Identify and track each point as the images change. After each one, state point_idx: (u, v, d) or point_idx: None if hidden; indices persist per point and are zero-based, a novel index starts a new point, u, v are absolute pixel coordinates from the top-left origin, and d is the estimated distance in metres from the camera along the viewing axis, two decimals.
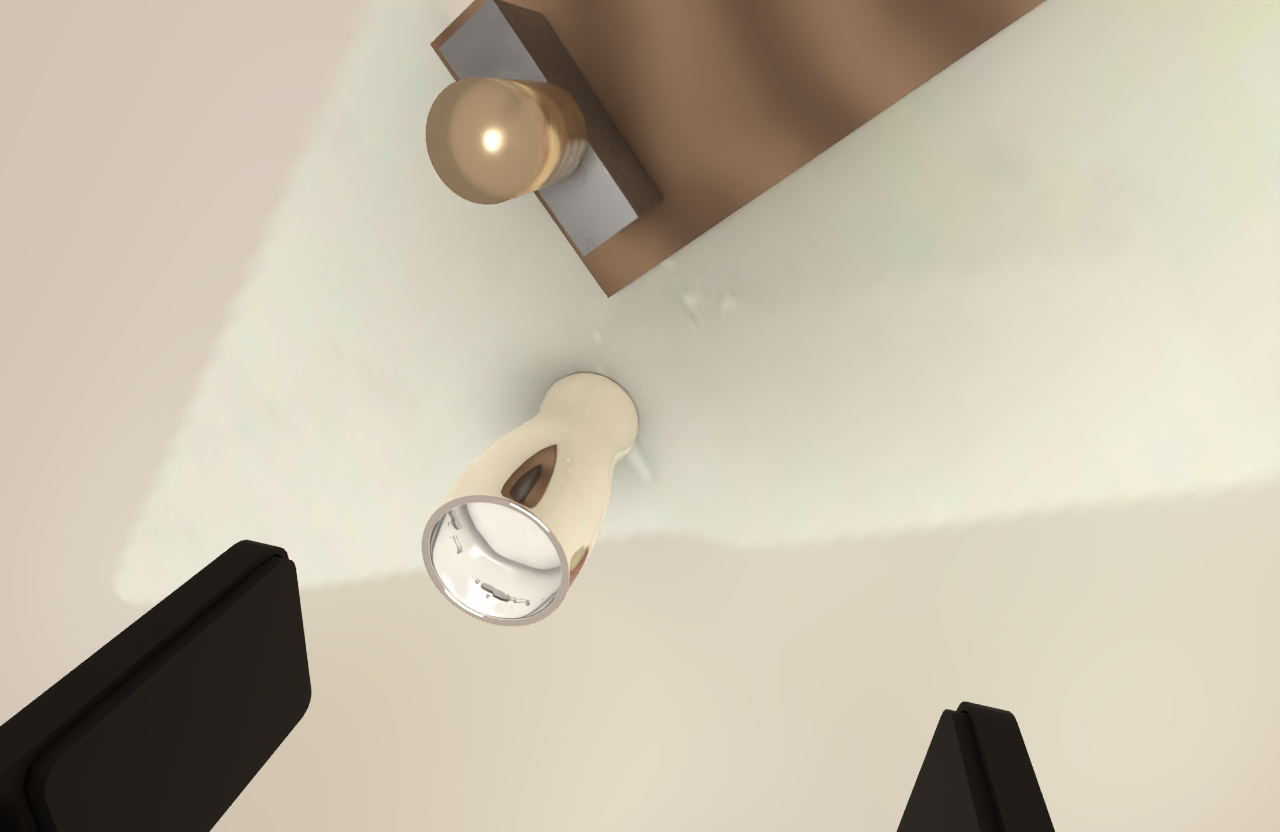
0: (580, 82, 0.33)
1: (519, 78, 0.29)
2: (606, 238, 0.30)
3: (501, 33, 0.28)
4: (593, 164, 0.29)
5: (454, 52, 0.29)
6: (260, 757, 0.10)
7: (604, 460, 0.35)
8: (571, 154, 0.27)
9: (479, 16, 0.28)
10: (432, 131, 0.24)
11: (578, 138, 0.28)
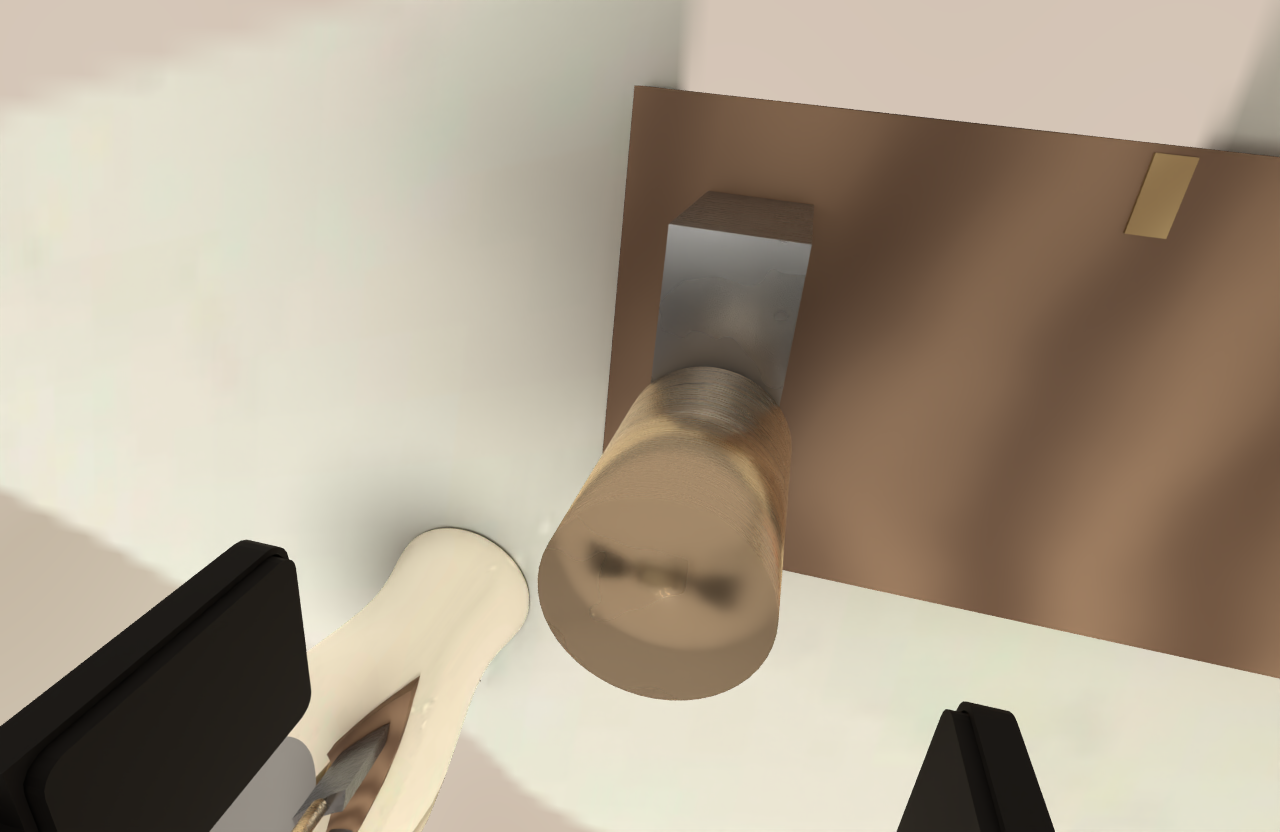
0: None
1: (745, 366, 0.16)
2: None
3: (778, 297, 0.15)
4: None
5: (688, 252, 0.15)
6: (260, 757, 0.10)
7: (452, 754, 0.24)
8: None
9: (770, 248, 0.15)
10: (588, 525, 0.11)
11: None
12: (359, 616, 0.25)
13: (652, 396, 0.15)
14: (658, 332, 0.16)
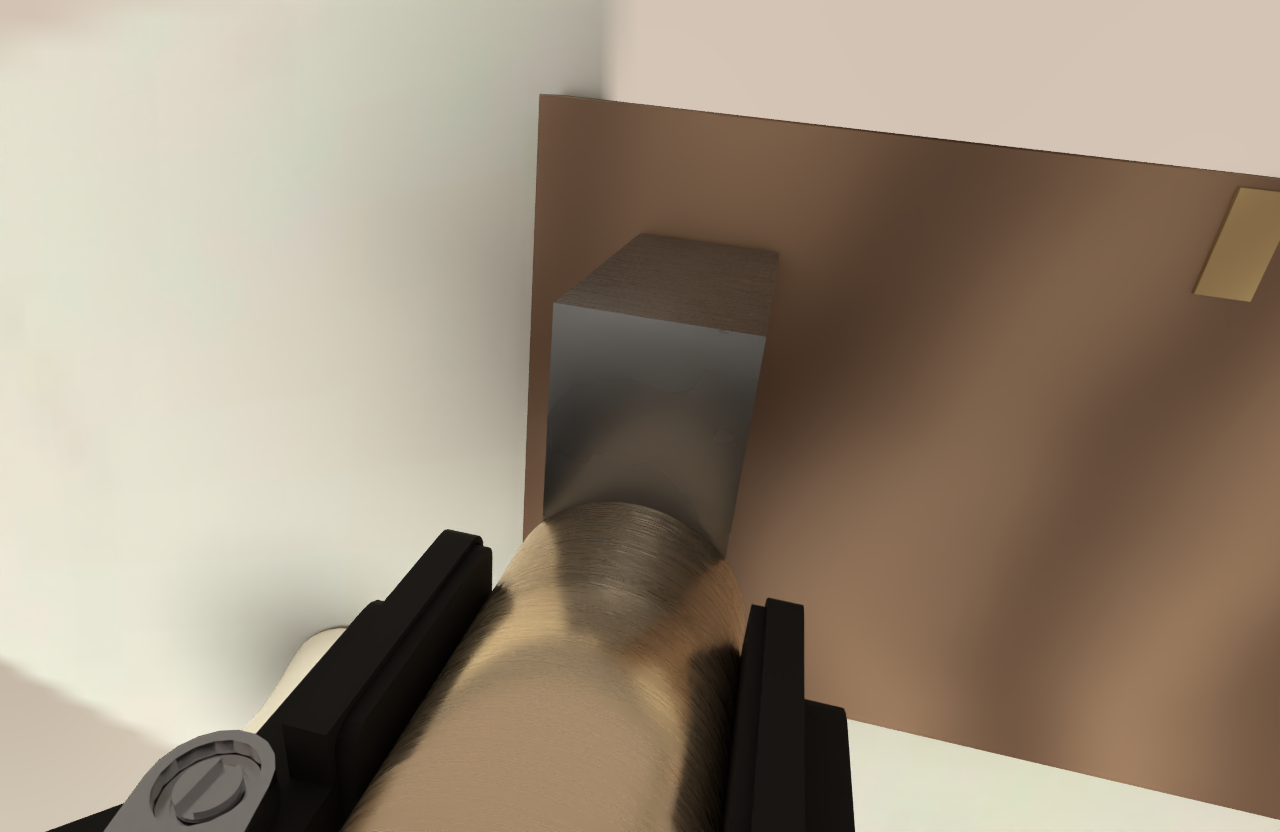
0: None
1: (675, 504, 0.11)
2: None
3: (718, 411, 0.10)
4: None
5: (584, 343, 0.10)
6: None
7: None
8: None
9: (704, 341, 0.10)
10: None
11: None
12: None
13: (532, 558, 0.10)
14: (548, 453, 0.11)
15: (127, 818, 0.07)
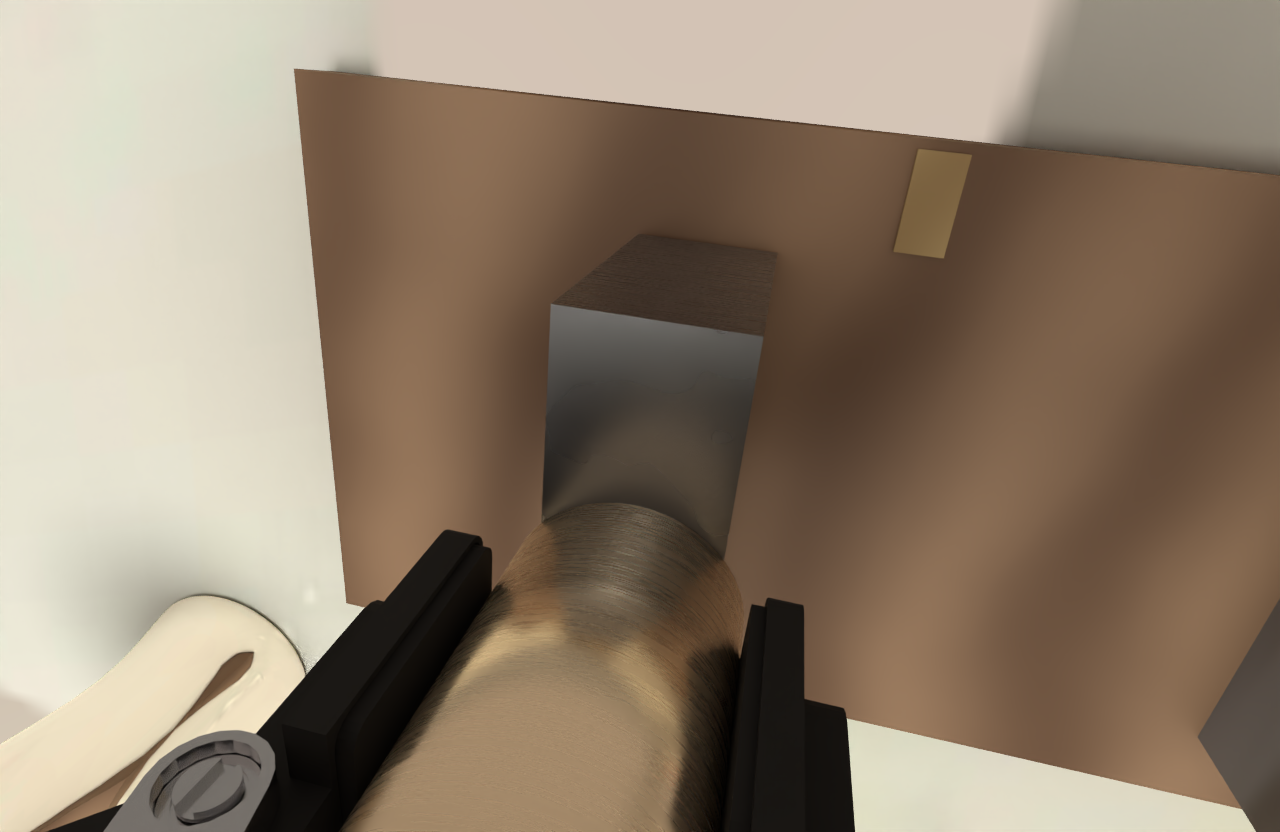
0: None
1: (674, 504, 0.11)
2: None
3: (716, 411, 0.10)
4: None
5: (581, 344, 0.10)
6: None
7: None
8: None
9: (701, 341, 0.10)
10: None
11: None
12: (47, 716, 0.21)
13: (531, 559, 0.10)
14: (547, 454, 0.11)
15: (127, 818, 0.07)
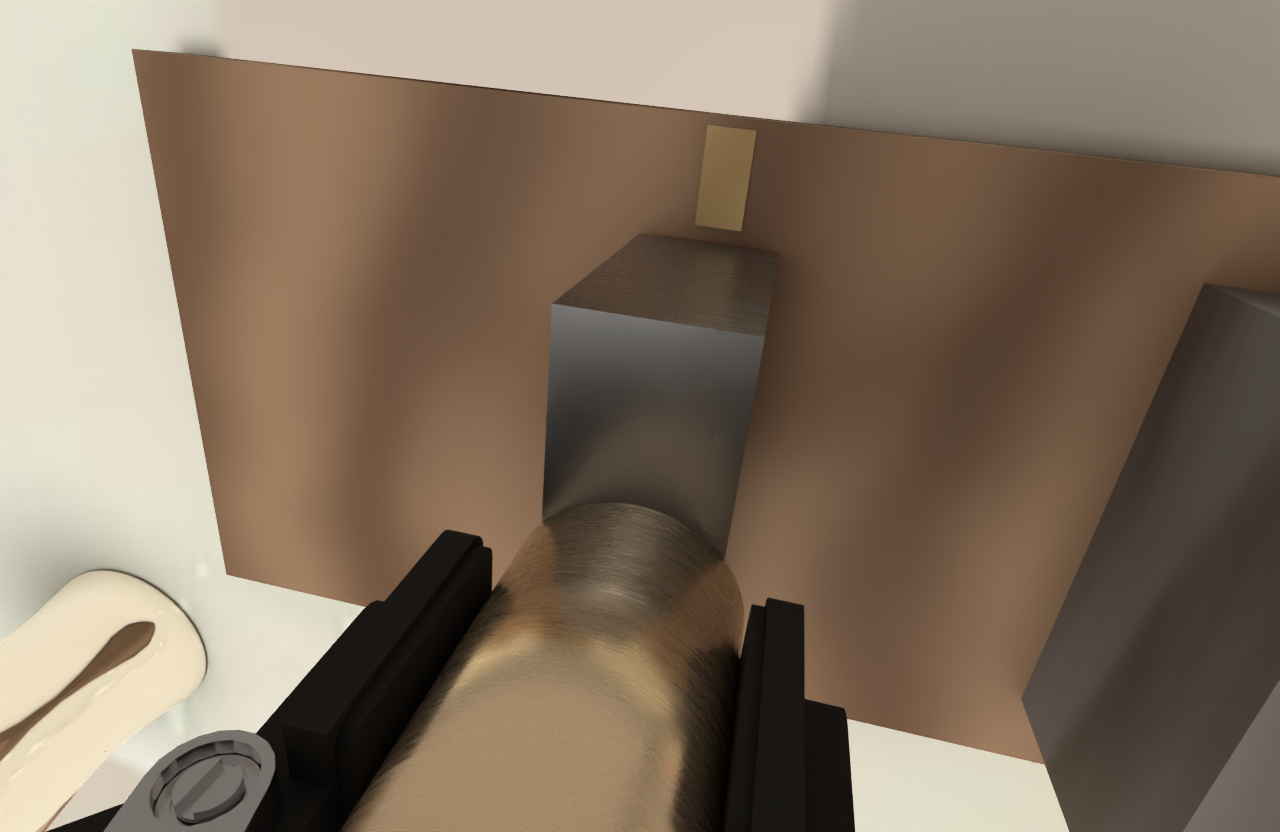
0: None
1: (674, 504, 0.11)
2: None
3: (717, 411, 0.10)
4: None
5: (582, 343, 0.10)
6: None
7: None
8: None
9: (702, 341, 0.10)
10: None
11: None
12: None
13: (532, 559, 0.10)
14: (548, 454, 0.11)
15: (127, 818, 0.07)
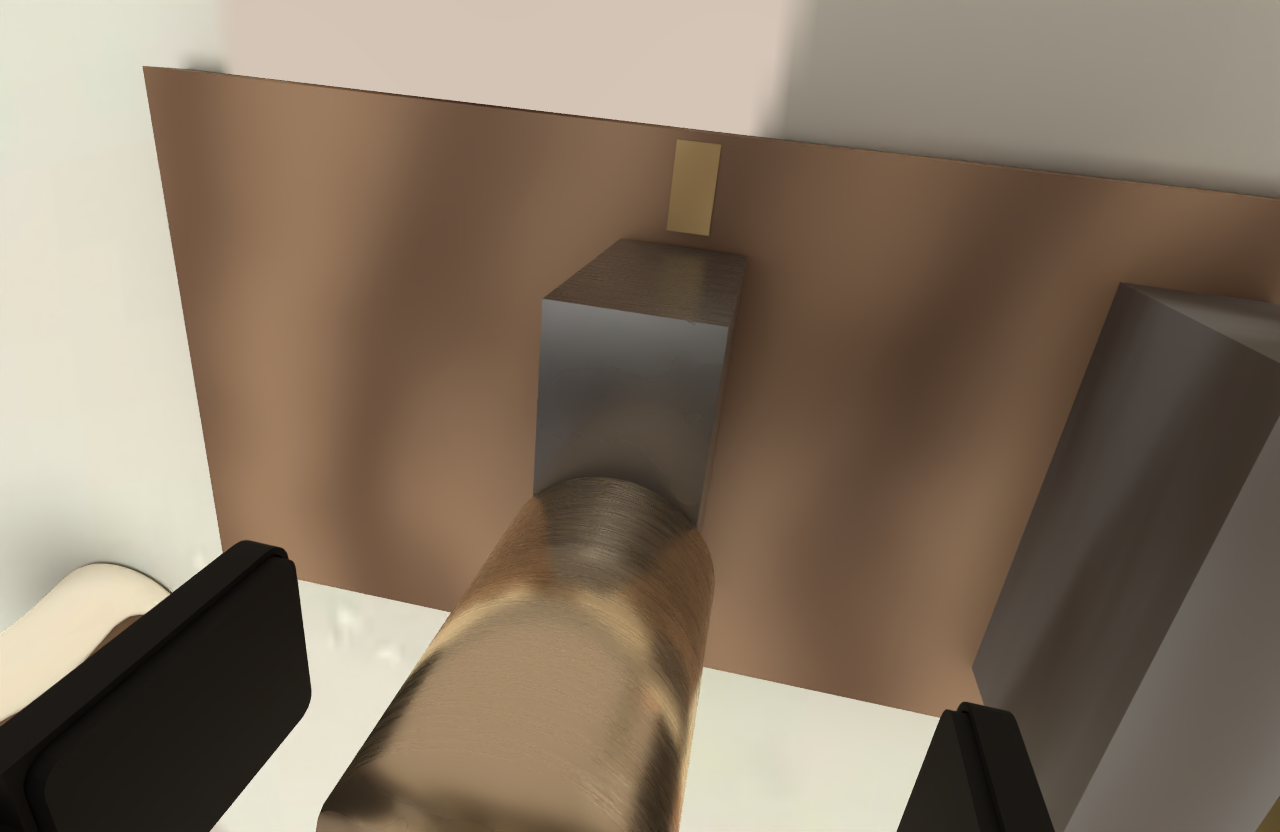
0: (719, 418, 0.17)
1: (651, 477, 0.12)
2: None
3: (688, 393, 0.12)
4: None
5: (569, 334, 0.12)
6: (260, 757, 0.10)
7: None
8: None
9: (675, 331, 0.11)
10: (376, 786, 0.07)
11: None
12: None
13: (525, 525, 0.12)
14: (538, 433, 0.12)
15: None
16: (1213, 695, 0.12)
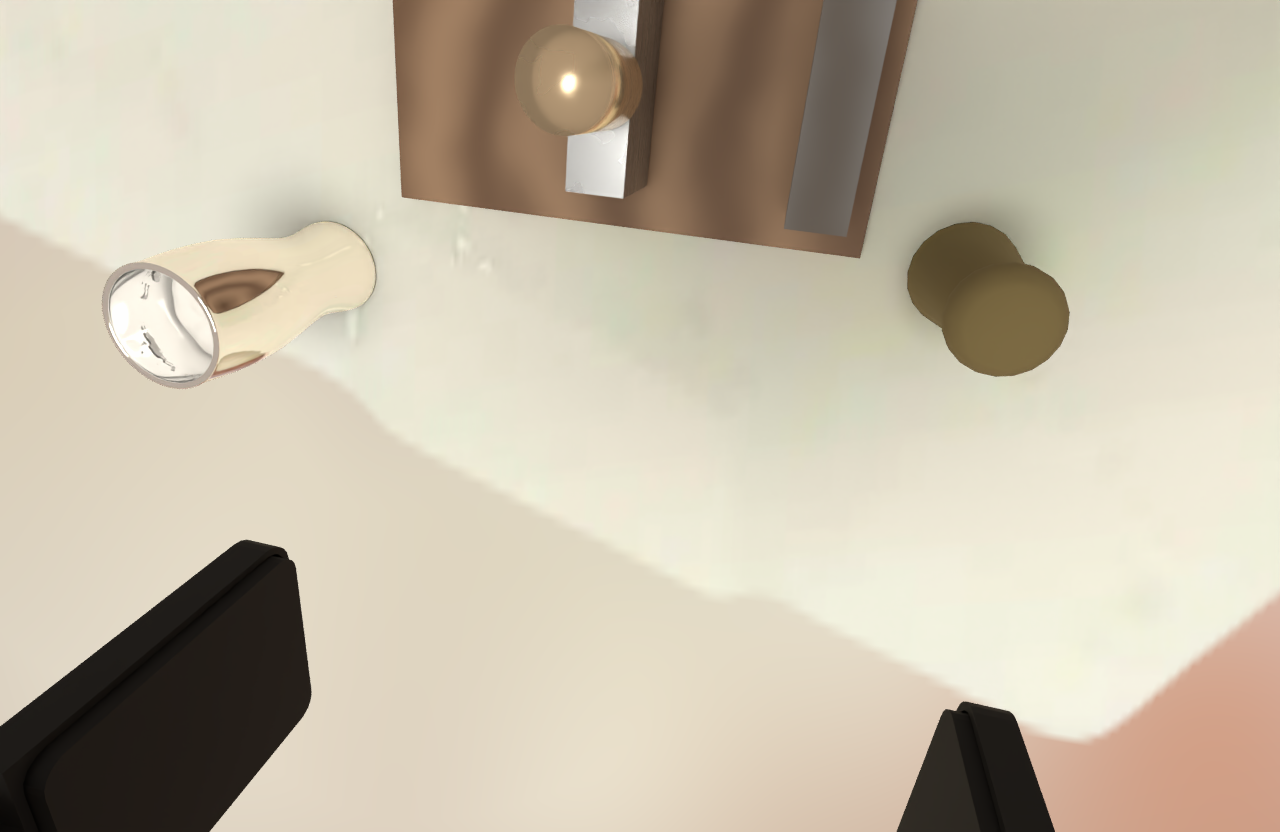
0: (654, 60, 0.37)
1: (617, 35, 0.33)
2: (590, 193, 0.36)
3: None
4: (620, 138, 0.34)
5: None
6: (260, 757, 0.10)
7: (310, 309, 0.42)
8: (612, 125, 0.32)
9: None
10: (534, 42, 0.28)
11: (625, 117, 0.33)
12: None
13: None
14: (574, 20, 0.33)
15: None
16: (829, 114, 0.32)
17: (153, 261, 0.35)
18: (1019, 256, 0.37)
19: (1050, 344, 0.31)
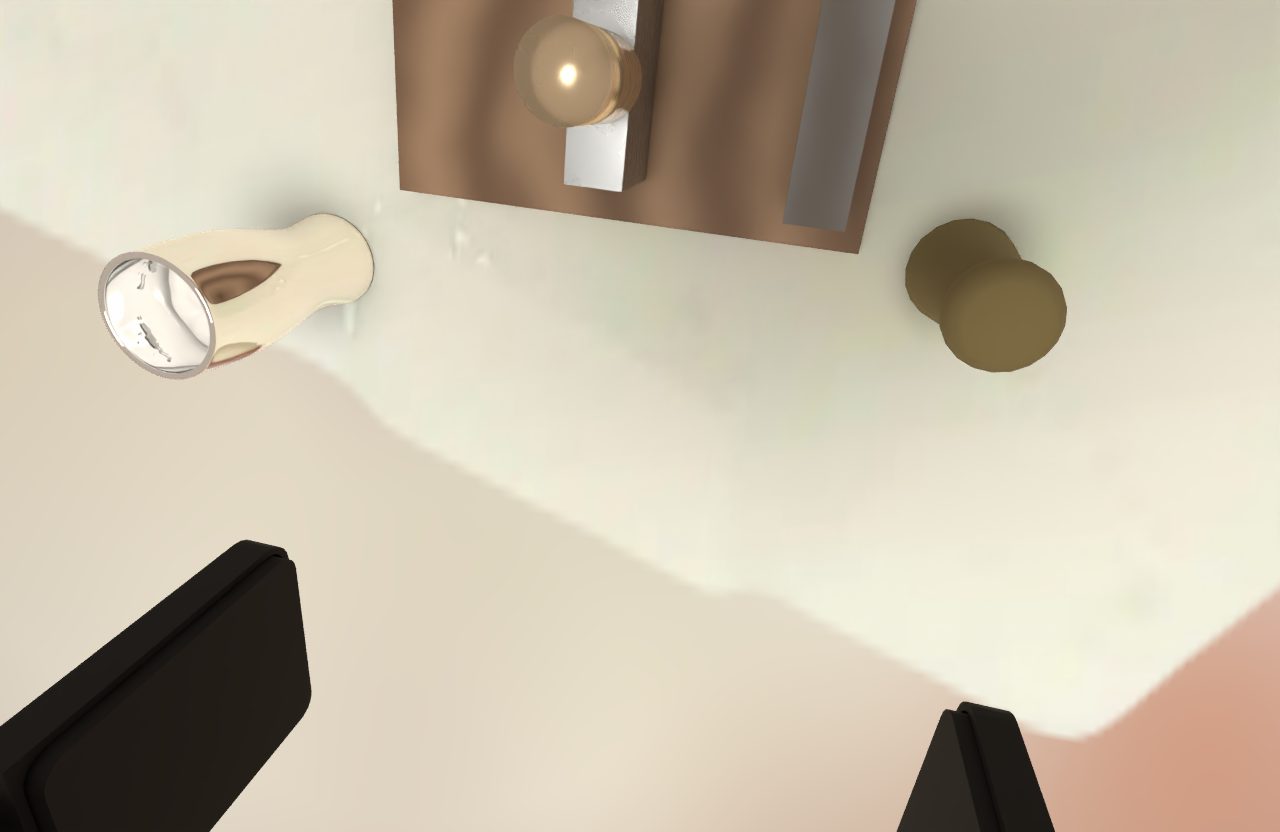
0: (653, 54, 0.37)
1: (616, 27, 0.32)
2: (589, 186, 0.36)
3: None
4: (619, 131, 0.34)
5: None
6: (260, 757, 0.10)
7: (307, 301, 0.42)
8: (611, 118, 0.32)
9: None
10: (533, 33, 0.28)
11: (624, 109, 0.33)
12: None
13: None
14: (574, 12, 0.33)
15: None
16: (829, 109, 0.32)
17: (150, 251, 0.34)
18: (1017, 253, 0.37)
19: (1047, 339, 0.31)
